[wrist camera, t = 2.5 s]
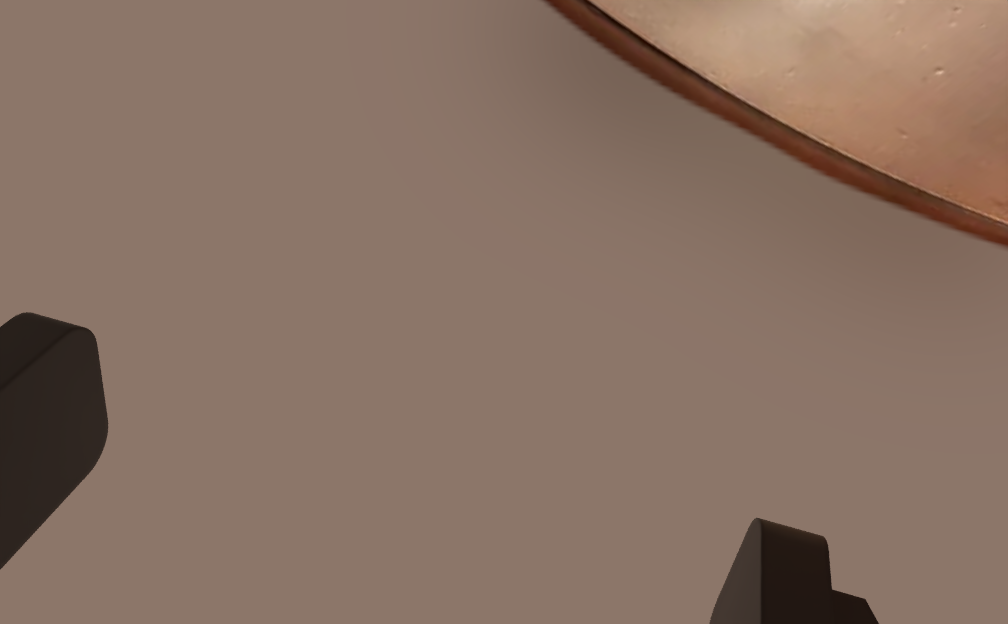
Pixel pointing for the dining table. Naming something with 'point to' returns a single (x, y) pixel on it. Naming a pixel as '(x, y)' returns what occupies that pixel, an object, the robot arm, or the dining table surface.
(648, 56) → the dining table surface
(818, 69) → the dining table surface
